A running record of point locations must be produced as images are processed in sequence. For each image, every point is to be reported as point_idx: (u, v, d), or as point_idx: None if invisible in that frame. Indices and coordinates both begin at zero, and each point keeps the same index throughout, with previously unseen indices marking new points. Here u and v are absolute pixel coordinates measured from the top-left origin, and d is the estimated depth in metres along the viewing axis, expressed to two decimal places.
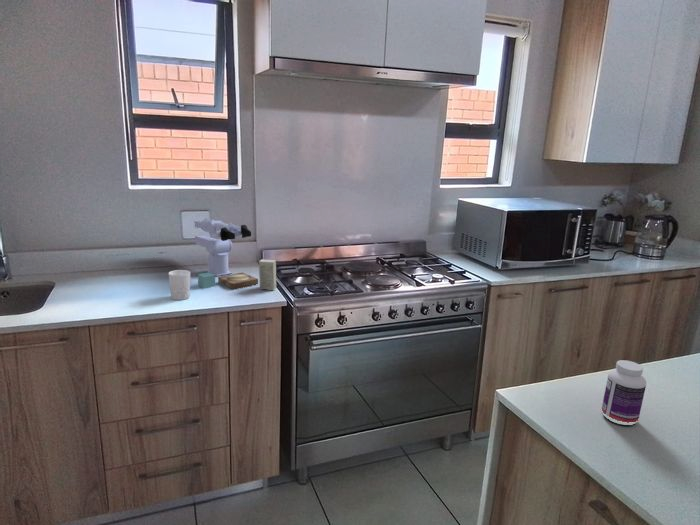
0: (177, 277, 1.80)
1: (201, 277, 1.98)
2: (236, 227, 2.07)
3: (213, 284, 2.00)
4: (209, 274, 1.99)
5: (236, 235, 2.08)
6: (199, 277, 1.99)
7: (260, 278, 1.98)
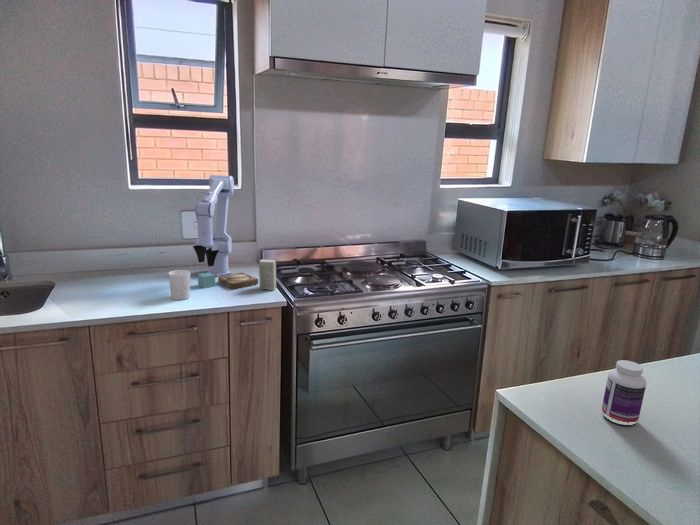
0: (177, 277, 1.80)
1: (201, 277, 1.98)
2: None
3: (213, 284, 2.00)
4: (209, 274, 1.99)
5: None
6: (199, 277, 1.99)
7: (260, 278, 1.98)
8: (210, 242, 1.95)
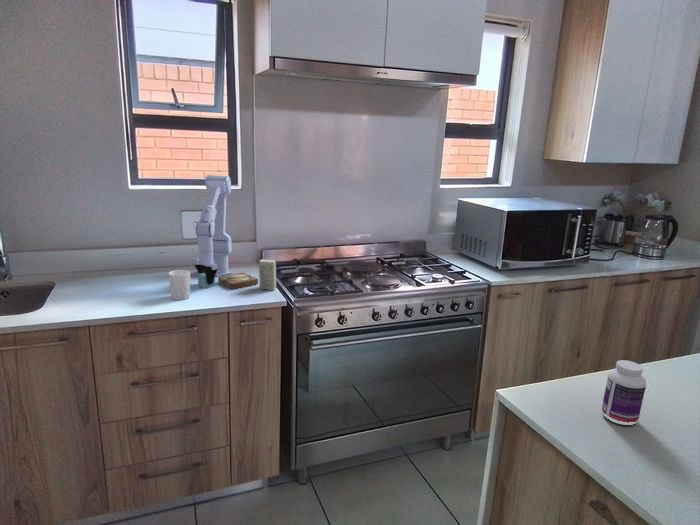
0: (177, 277, 1.80)
1: (201, 277, 1.98)
2: None
3: (213, 284, 2.00)
4: None
5: None
6: (199, 277, 1.99)
7: (260, 278, 1.98)
8: (210, 261, 1.97)
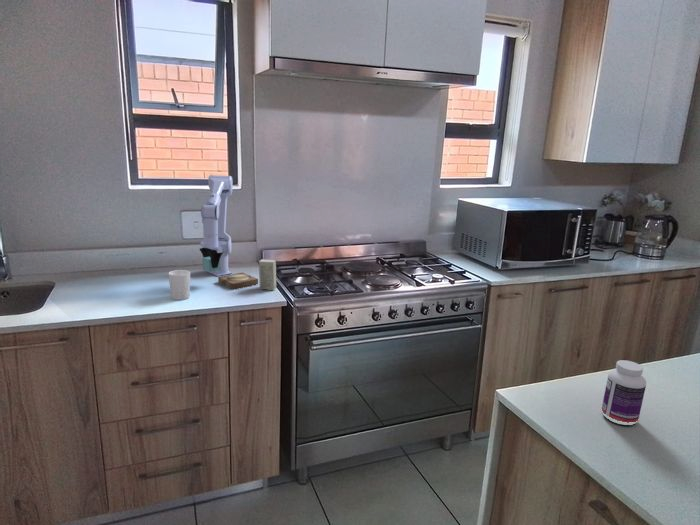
0: (177, 277, 1.80)
1: (206, 260, 1.97)
2: None
3: (218, 268, 1.99)
4: None
5: None
6: (204, 260, 1.98)
7: (260, 278, 1.98)
8: (215, 244, 1.96)
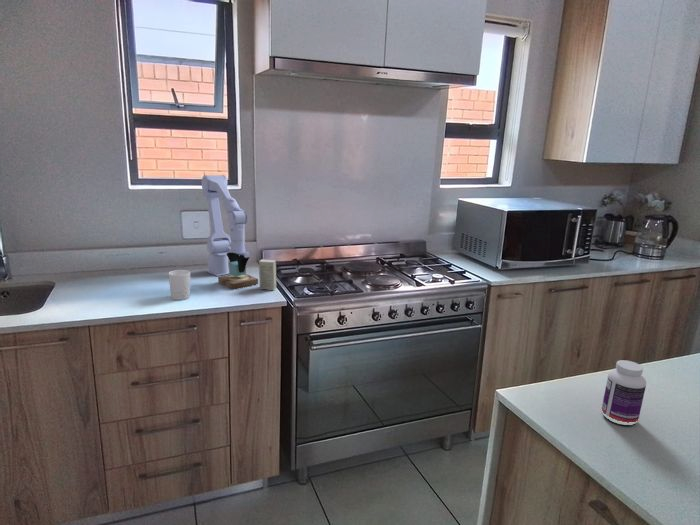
0: (177, 277, 1.80)
1: (232, 265, 2.01)
2: None
3: (244, 272, 2.04)
4: None
5: None
6: (230, 265, 2.03)
7: (260, 278, 1.98)
8: (242, 249, 2.00)
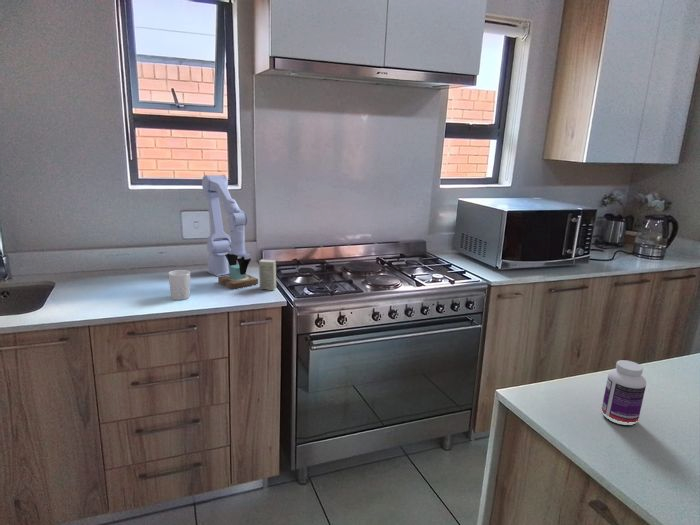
0: (177, 277, 1.80)
1: (232, 269, 2.02)
2: None
3: (244, 276, 2.04)
4: None
5: None
6: (230, 269, 2.03)
7: (260, 278, 1.98)
8: (242, 251, 2.01)
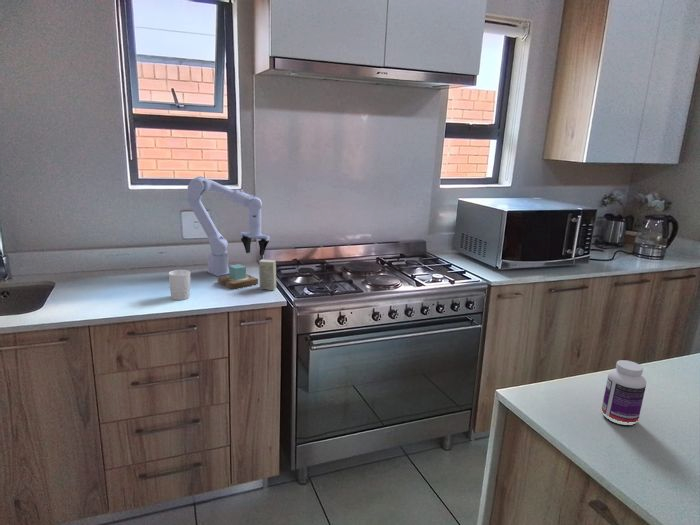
0: (177, 277, 1.80)
1: (232, 269, 2.02)
2: None
3: (244, 276, 2.04)
4: (240, 266, 2.03)
5: None
6: (230, 269, 2.03)
7: (260, 278, 1.98)
8: (260, 233, 2.16)
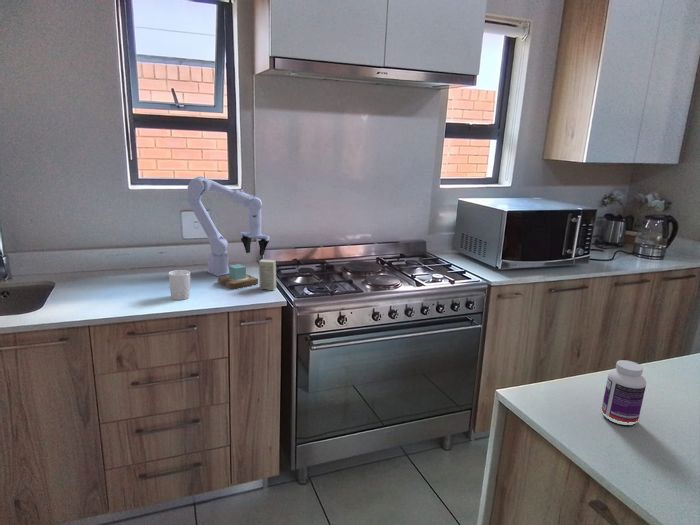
0: (177, 277, 1.80)
1: (232, 269, 2.02)
2: None
3: (244, 276, 2.04)
4: (240, 266, 2.03)
5: None
6: (230, 269, 2.03)
7: (260, 278, 1.98)
8: (260, 233, 2.16)
